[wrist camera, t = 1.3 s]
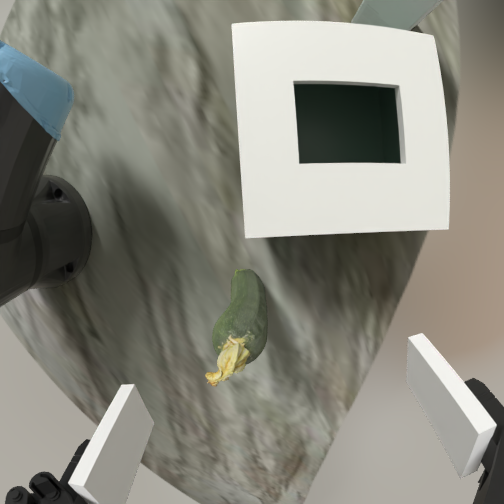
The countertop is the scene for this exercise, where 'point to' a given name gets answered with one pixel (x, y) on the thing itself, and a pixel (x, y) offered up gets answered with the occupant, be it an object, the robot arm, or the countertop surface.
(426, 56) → the box
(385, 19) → the skincare box
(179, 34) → the countertop surface
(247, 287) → the vegetable
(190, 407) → the countertop surface
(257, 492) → the countertop surface
